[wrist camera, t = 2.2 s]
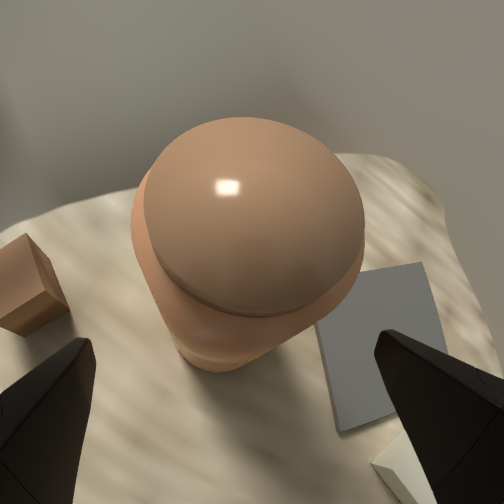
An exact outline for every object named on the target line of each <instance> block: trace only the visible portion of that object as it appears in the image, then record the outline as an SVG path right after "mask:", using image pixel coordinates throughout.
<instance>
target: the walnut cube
mask: <svg viewBox="0 0 504 504" xmlns="http://www.w3.org/2000/svg"><path fill="white" fill-rule="evenodd" d="M69 309H70V308H69V306H68V304H67V301H66V299H65V297H64V294H63V292H62V289H61V287H60V285H59V282H58V280H57V277H56V275H55V272H54V269H53V267H52V264H51V261H50V259H49V258H48V257H47V256H46V255H45V254H44V252H43V251H42V250H41V249H40V248H39V247H38V246H37V245H36V244H35V242H34V241H33V240H32V239H31V238H30V237H29V236H28V234H27V233H25V234H23V235H21V236H20V237H18V238H17V239H15V240H14V241H12V242H11V243H9V244H8V245H6V246H5V247H3V248H2V249H0V327H2V328H4V329H6V330H9V331H11V332H13V333H16V334H18V335H20V336H23V337H25V336H27V335H29V334H30V333H32V332H33V331H35V330H37V329H38V328H40V327H41V326H43V325H45V324H46V323H48V322H50V321H51V320H53V319H54V318H56V317H58V316H59V315H61V314H63V313H64V312H66V311H68V310H69Z"/></svg>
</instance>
